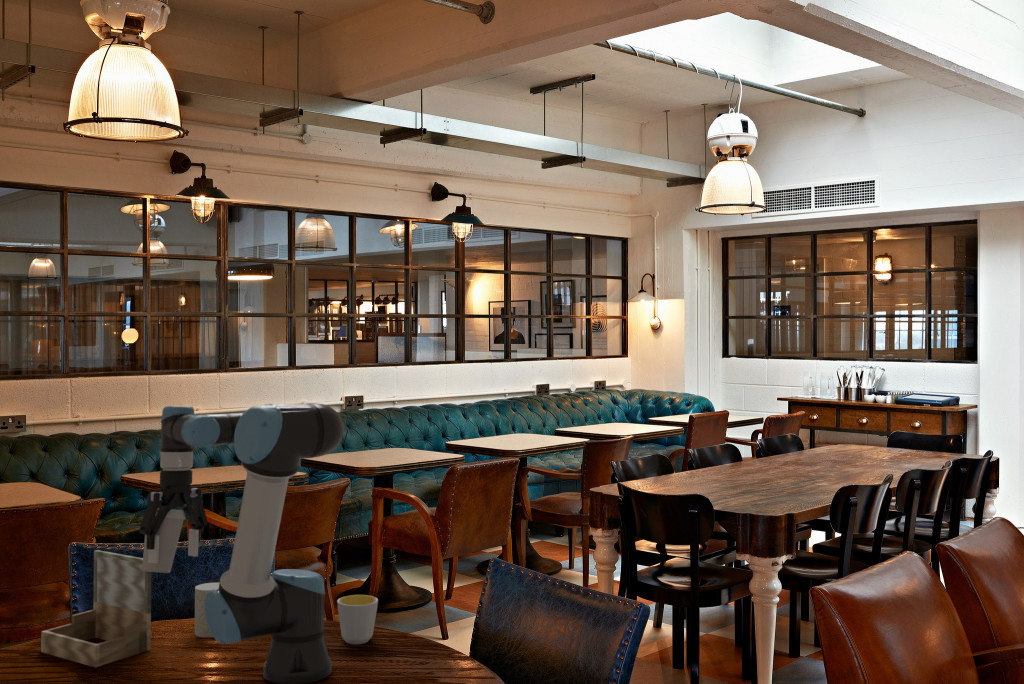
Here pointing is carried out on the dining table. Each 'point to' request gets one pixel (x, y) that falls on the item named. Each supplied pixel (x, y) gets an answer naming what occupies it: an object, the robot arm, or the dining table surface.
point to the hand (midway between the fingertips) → (173, 559)
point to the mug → (357, 617)
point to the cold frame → (108, 615)
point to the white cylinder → (202, 609)
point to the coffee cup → (165, 542)
